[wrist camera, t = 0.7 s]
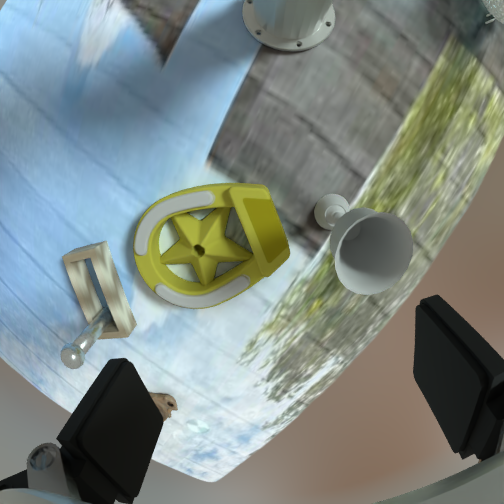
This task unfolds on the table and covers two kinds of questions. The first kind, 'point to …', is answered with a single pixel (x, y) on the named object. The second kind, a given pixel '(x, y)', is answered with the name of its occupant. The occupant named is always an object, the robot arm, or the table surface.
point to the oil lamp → (164, 404)
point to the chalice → (365, 244)
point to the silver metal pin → (85, 340)
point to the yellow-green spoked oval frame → (210, 243)
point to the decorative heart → (502, 10)
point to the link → (108, 283)
